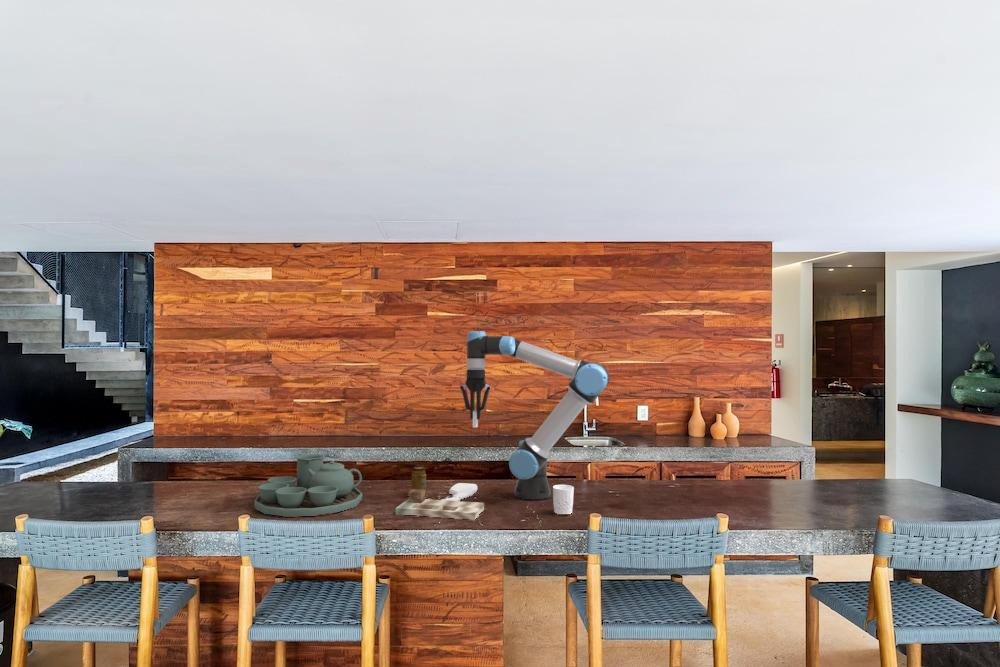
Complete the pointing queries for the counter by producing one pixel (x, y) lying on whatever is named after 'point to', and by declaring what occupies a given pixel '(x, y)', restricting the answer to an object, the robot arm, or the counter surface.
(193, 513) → the counter surface
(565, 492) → the white cup
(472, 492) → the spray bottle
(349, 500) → the tea set
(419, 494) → the walnut block
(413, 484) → the condiment
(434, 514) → the trap deck
